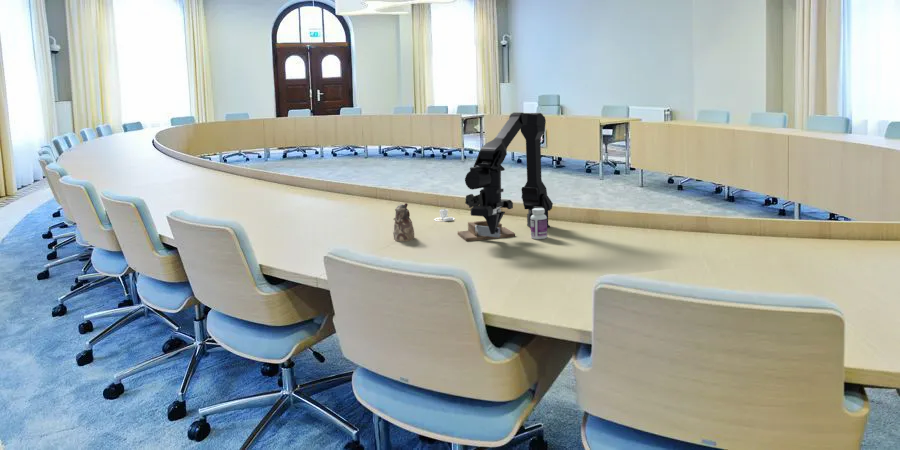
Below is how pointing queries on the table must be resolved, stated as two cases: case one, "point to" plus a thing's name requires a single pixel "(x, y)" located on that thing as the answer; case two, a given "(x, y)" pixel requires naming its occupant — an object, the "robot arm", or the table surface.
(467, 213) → the table surface
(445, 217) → the teacup and saucer
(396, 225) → the figurine
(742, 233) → the table surface
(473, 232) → the cradle board
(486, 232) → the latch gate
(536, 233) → the pill bottle
